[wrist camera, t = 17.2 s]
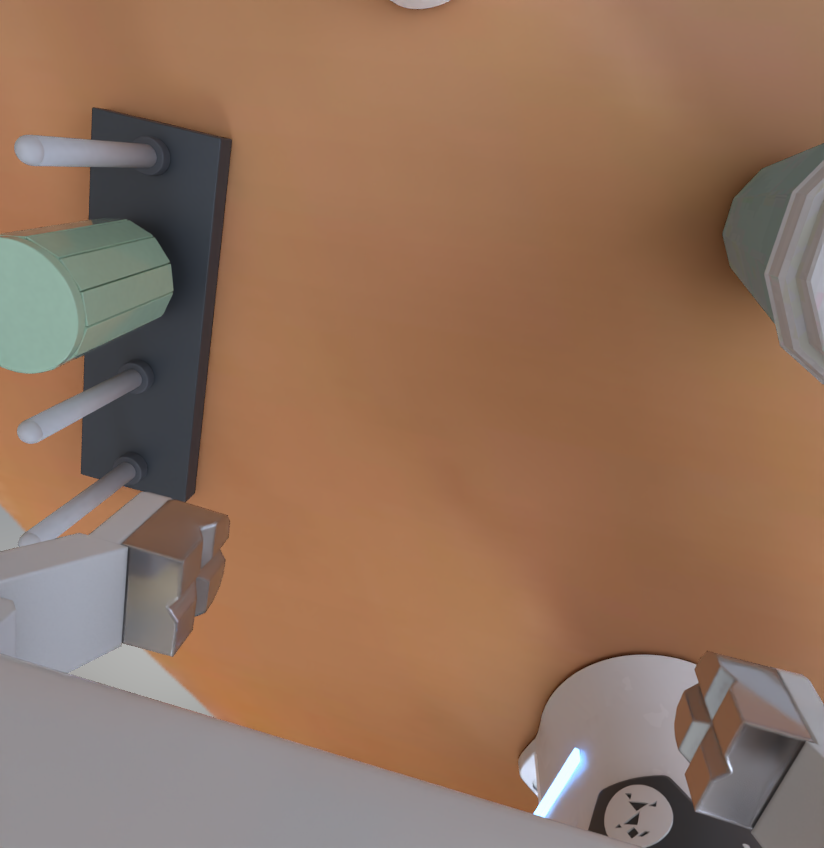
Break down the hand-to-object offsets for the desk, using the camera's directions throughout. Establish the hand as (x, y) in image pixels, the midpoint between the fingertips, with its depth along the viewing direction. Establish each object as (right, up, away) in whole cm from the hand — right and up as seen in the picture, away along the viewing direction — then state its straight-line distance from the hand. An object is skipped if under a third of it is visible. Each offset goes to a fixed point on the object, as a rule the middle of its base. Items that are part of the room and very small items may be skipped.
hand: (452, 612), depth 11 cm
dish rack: (-17, +10, +31) cm, 36 cm away
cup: (-17, +12, +26) cm, 33 cm away
